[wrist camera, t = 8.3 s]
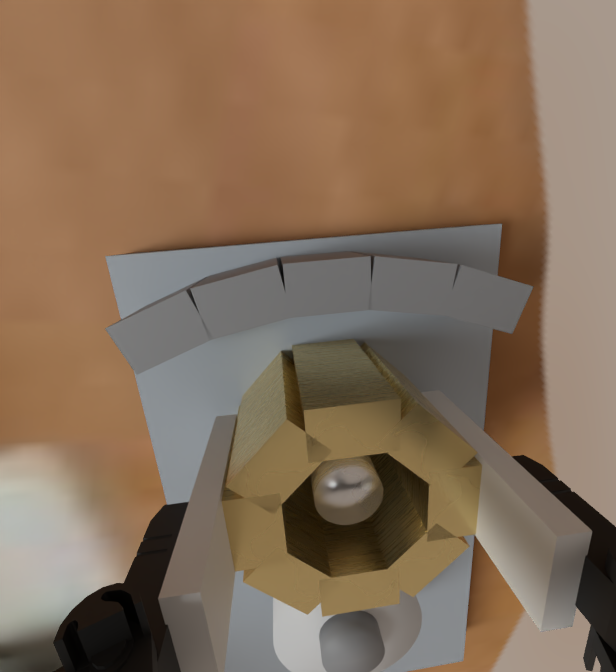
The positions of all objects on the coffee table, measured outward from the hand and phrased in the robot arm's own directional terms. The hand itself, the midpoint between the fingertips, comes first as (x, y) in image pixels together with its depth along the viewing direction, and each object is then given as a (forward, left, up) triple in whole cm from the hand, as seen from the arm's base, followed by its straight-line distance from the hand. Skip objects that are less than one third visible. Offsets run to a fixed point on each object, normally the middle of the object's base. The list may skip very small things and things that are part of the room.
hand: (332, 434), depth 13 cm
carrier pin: (0, 0, -1) cm, 1 cm away
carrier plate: (+5, 0, -2) cm, 5 cm away
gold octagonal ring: (0, 0, -1) cm, 1 cm away
